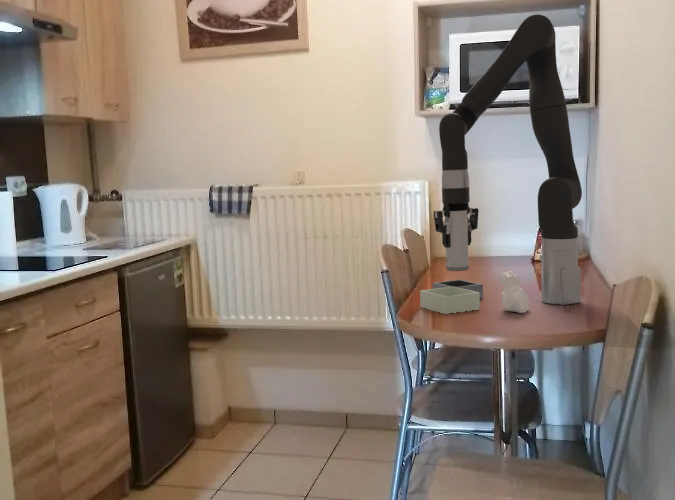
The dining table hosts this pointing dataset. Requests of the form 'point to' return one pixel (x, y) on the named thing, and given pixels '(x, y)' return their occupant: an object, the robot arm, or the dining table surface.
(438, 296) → the tray
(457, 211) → the travel mug
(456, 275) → the dining table surface
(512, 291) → the bust
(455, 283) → the sleeve
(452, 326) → the dining table surface
